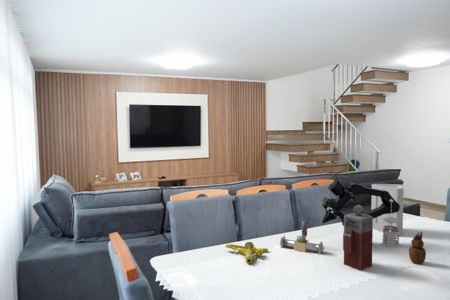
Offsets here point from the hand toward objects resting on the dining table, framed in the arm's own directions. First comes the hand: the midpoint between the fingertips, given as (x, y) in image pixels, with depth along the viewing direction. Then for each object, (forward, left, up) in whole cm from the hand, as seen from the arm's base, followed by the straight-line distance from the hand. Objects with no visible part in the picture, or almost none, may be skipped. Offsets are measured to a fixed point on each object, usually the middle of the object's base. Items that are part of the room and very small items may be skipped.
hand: (322, 222), depth 182 cm
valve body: (+7, +14, -12) cm, 20 cm away
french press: (-31, -19, -12) cm, 38 cm away
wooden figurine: (-45, +2, -12) cm, 47 cm away
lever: (+7, +11, -7) cm, 15 cm away
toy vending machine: (-22, +21, -12) cm, 33 cm away
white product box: (-28, -47, -12) cm, 56 cm away
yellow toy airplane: (+26, +38, -12) cm, 48 cm away
